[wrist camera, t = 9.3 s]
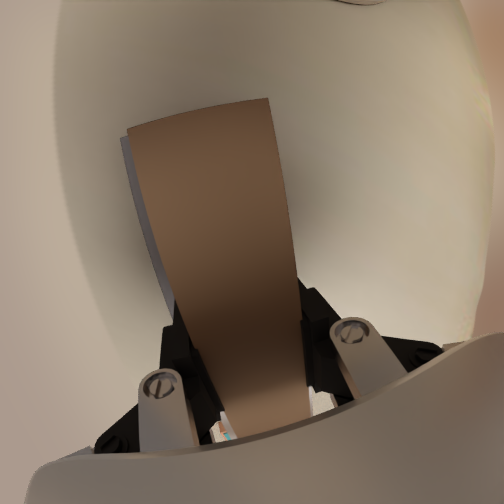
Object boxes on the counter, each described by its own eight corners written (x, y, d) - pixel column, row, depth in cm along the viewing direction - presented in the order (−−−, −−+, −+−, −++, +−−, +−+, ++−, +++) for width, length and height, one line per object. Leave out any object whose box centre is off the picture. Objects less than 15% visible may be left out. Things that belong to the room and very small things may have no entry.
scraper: (124, 146, 8) (85, 144, 5) (268, 113, 9) (310, 94, 5) (238, 445, 15) (248, 488, 12) (309, 424, 15) (328, 465, 12)
